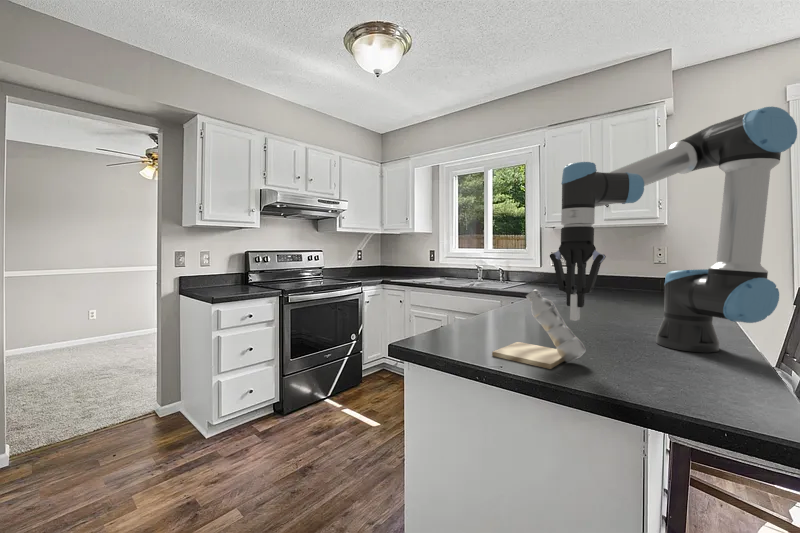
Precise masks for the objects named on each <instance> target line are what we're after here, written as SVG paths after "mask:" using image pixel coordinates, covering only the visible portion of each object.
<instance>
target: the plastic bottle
mask: <svg viewBox="0 0 800 533" xmlns="http://www.w3.org/2000/svg"><path fill="white" fill-rule="evenodd" d="M525 297H526V299H527V300H528V302H529V303H531V304H530V310H531V315H532V316H533V318H534V319H535V320H536V322H538V323H539V325H540V326H541V327H542V328H543V330H544V331H545V332H546V334H548V336H549V338H550V340H551V341H552V343H553V345H554V346H555V349H557V351H558V353H559V355H560V357H561V358H562V359H563V360H565V361H564V362H566V363H567V362H572V361H576V360H578V359H580V358H581V357H582V356H583V355H584V354H585V353H586V347H585V345H584V343H583V342H582V341H581V340H580V339H579V337H577V336H576V335H575V334H574V333H573V331H572V329H570V328H569V326H567V324H566V322H565V321H564V319H563V317H562V316H561V314H560V312H559V310H558V308H557V307H556V305H555V303H554V302H553V301H552V300H550V299H548V298H546V297H543V296H542V293H541V292H540V291H539V289H534V290H531V291H530V292H529V293H527V294H526V295H525Z"/></svg>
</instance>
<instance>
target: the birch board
mask: <svg viewBox="0 0 800 533" xmlns="http://www.w3.org/2000/svg"><path fill="white" fill-rule="evenodd" d="M491 353H492V354H491V356H492V357H495V358H500V359H503V360H509V361H513V362H518V363H522V364H527V365H531V366H534V367H540V368H544V369H548V370H551V369H553V368H555V367H557V366H558V365H560V364H562V363H563V362H566V361H565V360H563V359H562V358H561V357H560V355H559V353H558V351H557V349H556V348H552V347H549V346H542V345H537V344H531V343H526V342H522V341H521V342H520V341H516V342H513V343H511V344H507V345H506V346H503V347H500V348H498V349H496V350H492V352H491Z"/></svg>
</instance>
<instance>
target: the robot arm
mask: <svg viewBox="0 0 800 533" xmlns="http://www.w3.org/2000/svg"><path fill="white" fill-rule="evenodd" d="M797 127H798V126H797V124H796V121H795V119H794V117H793V116H791V115H790V113H789V112H788V111H787V110H785V109H783V108H781V107H778V106H765V107H762V108H758V109H753V110H749V111H747V112H746V113H743V114H740V115H737V116H733V117H732V118H729V119H725V120H724V121H720V122H717V123H714V124H712V125H710V126H708V127H705V128H703V129H701V130H699V131H698V132H696V133H694V134H691V135H690V136H688V137H685V138H684V139H681V140H679V141H676V142H674V143H672V144H671V145H670V146H669V147H668V149H665V150H662V151H659V152H657V153H655V154H652V155H649V156H647V157H643V158H642V159H640V160H637V161H634V162H631V163H629V164H626V165H623V166H621V167H619V168H615V169H613V170H611V171H609V172H599V171H597V165H596V163H594V162H591V161H578V162H573V163H572V162H571V163H569V164H567V165H565V166H564V167H563V169H562V170H563V171H562V178H561V183H560V184H561V210H560V211H561V214H560V216H561V218H560V219H561V220H560V223H561V225H562V226H563V227H561V229H560V245H559V247H558V249H557V251H556V252H554V253H550V254H549V259H551V261H552V263H553V268H554V272H555V275H556V276H555V277H556V281H557V285H558V290H559V291H562V292H564V293H565V295H566V306H567V307H569V308H570V310H569V320H570V321H573V322H574V321H575V322H577V321H579V320H580V319H581V318H580V317H581V308H584V307H585V297H586V294H588V293H592V292H594V287H595V285H596V281H597V277H598V274H599V272H600V268H601V264H602V263H603V262H604V260H605V259H606V257H607V256H606V254H604V253H600V252H599V251H598V250H596V249H597V248H596V246H595V243H594V242H595V228H594V227H593V225H594V224H595V215H596V214H595V212H596V209H595V208H597V207H602V206H609V205H614V204H622V205H625V204H634V203H636V202H638V201H639V200H640V199H641V198H642V197H643V195H644V192H645V187H646V186H648V185H651V184H653V183H657V182H658V181H661V180H663V179H667V178H668V177H671V176H674V175H676V174H681V175H682V174H684V175H686V174H689V173H691V172H693V171H697V170H701V169H706V168H712V167H717V166H718V168H719V170H721V171H723V173H724V174H725V176H724V185H723V192H722V193H723V194H722V202H721V205H722V206H721V212H720V213H721V214H720V224H719V232H718V233H719V234H718V243H717V250H716V251H717V252H716V253H717V254H716V261H715V263H713V264H712V265H710V266H709V267H708V268H707V269H705V268H703V269H702V268H701V269H700V268H699V269H680V270H671V271H669V272H667V273H666V275H665V279H664V284H663V285H664V289H663V290H664V291H663V293H664V294H663V295H664V296H663V297H664V298H663V319H662V322H661V323H660V326H659V329H658V331H657V333H656V335H655V343H656V344H658V345H660V346H661V347H665V348H669V349H672V350H673V349H674V350H678V351H683V352H693V353H704V354H705V353H717V352H719V351H720V341H719V338H718V334H717V332H716V330H715V327H714V324H713V319H714V318H718V319H723V320H728V321H731V322H735V323H736V322H738V323H744V324H754V323H755V324H756V323H759V322H762V321H764V320H765V319H767V317H769V316H771V315H772V314H773V313H774V311H775V310H776V308H777V307H778V304H779V301H780V291H779V288H777V284H776V283H775V282H774V281H772V280H770V279H768V275H769V271H768V270H767V269H766V268H765V267H763V265H762V264H761V261H762V253H763V244H764V243H763V242H764V235H765V234H764V233H765V226H766V225H765V224H766V217H767V216H766V214H767V205H768V199H769V197H768V196H769V186H770V180H771V179H770V177H771V171H772V170H773V169H774V168H776V166H778V165H779V164H780V163H781V157H782V156H781V154H782V153H783V152H785V151H788V149H791V148H792V146H793V145H794V144H795V143H796V141H797V138H798V128H797ZM562 258H563V259H564V261H565V266H566V275H565V272H564V268H563V263H562V260H561V259H562ZM591 258H592V260H593V261H592V263H591V264H592V265H591V266H590V270H589V274H588V277H587V278H586V274H587V273H586V272H587V262H588V261H589V260H590V259H591ZM576 267H577V271H576ZM576 272H577V273H576ZM576 275H577V277H576ZM575 279H576V280H577V281H576V280H575ZM586 279H587V280H586ZM575 281H576V286H575ZM575 287H576V290H575Z"/></svg>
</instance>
